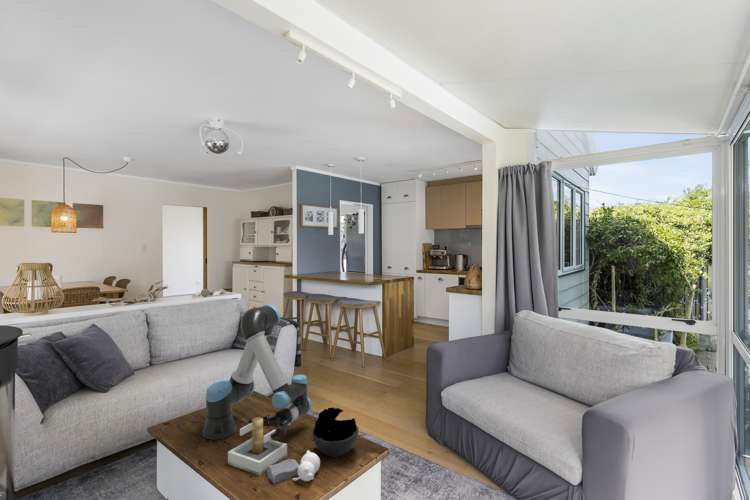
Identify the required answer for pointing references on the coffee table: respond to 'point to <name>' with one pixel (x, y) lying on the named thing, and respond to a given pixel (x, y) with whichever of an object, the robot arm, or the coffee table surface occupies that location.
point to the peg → (257, 435)
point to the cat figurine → (308, 466)
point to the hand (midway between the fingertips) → (251, 436)
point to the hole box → (257, 464)
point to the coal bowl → (334, 433)
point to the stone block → (283, 470)
